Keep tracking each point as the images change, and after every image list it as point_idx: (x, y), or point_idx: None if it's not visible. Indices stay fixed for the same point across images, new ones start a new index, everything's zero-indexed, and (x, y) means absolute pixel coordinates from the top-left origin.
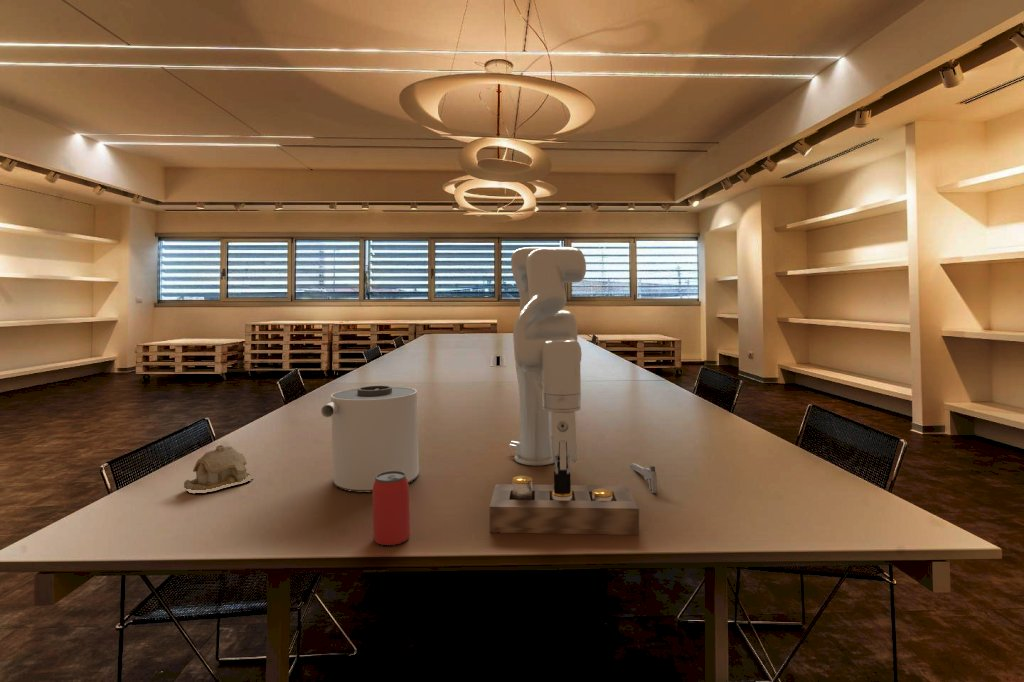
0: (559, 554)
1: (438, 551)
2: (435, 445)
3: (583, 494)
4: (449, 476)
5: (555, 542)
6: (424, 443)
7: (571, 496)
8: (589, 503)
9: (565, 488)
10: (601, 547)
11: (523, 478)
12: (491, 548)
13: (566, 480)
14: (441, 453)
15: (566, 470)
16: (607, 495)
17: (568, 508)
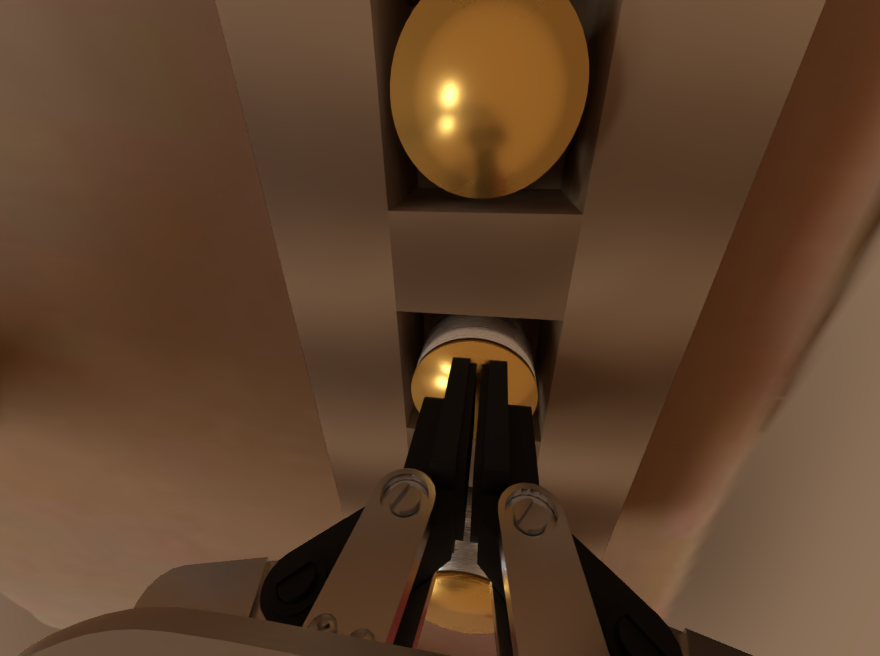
0: (809, 354)
1: (656, 597)
2: (14, 567)
3: (453, 255)
4: (201, 557)
5: (693, 357)
6: (20, 581)
7: (503, 339)
8: (635, 233)
9: (529, 416)
10: (831, 155)
11: (451, 603)
12: (675, 518)
13: (535, 459)
14: (58, 561)
15: (632, 592)
16: (577, 41)
17: (674, 370)
